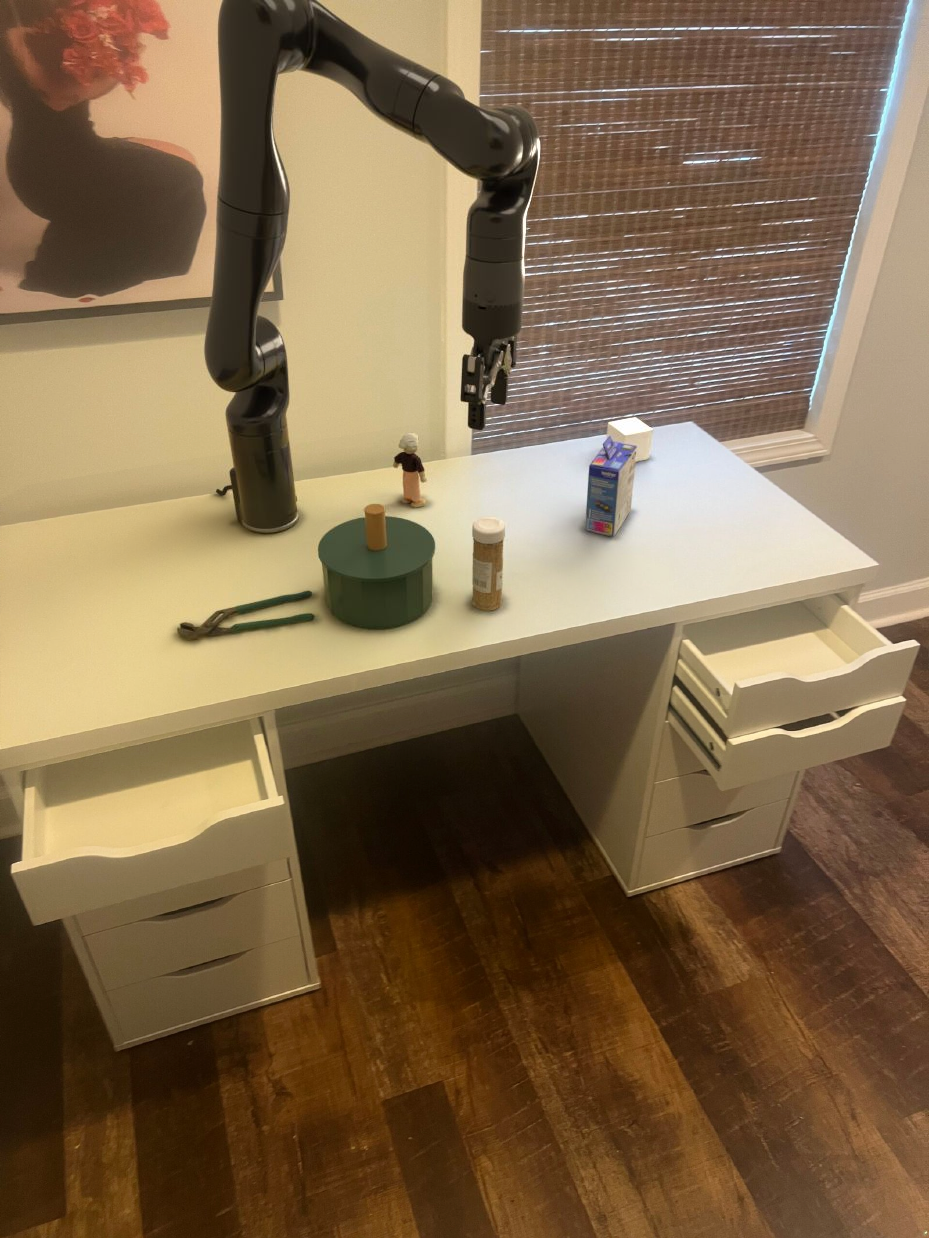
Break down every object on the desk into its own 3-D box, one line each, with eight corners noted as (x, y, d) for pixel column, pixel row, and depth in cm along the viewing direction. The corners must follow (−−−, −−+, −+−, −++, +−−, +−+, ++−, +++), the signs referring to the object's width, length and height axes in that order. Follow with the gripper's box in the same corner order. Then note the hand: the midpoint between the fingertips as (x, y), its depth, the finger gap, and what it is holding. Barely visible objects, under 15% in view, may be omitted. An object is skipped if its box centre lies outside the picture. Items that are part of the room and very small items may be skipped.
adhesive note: (621, 465, 168) (625, 435, 165) (604, 451, 173) (607, 422, 169) (648, 459, 170) (653, 429, 167) (631, 446, 175) (635, 416, 171)
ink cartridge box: (600, 503, 157) (608, 426, 148) (631, 510, 155) (641, 432, 146) (581, 530, 149) (589, 450, 141) (614, 538, 148) (623, 457, 139)
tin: (307, 614, 130) (301, 565, 125) (357, 559, 142) (354, 512, 137) (404, 640, 126) (402, 590, 121) (449, 582, 137) (449, 534, 132)
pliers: (312, 595, 134) (311, 588, 134) (321, 619, 129) (320, 612, 129) (175, 620, 129) (174, 612, 128) (180, 646, 124) (178, 638, 123)
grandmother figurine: (436, 502, 157) (435, 434, 149) (423, 511, 154) (421, 443, 146) (399, 490, 160) (397, 423, 152) (387, 499, 157) (383, 432, 150)
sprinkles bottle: (508, 605, 132) (511, 526, 124) (482, 615, 130) (484, 535, 122) (490, 590, 135) (492, 512, 127) (465, 600, 133) (465, 521, 125)
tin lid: (296, 569, 125) (290, 524, 121) (353, 513, 138) (349, 471, 133) (404, 596, 120) (402, 551, 116) (453, 536, 133) (453, 493, 128)
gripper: (485, 273, 118) (480, 391, 127) (442, 305, 107) (441, 432, 117) (540, 281, 115) (531, 400, 125) (502, 315, 105) (495, 442, 115)
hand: (487, 415), depth 121 cm, fingers open, 8 cm apart
